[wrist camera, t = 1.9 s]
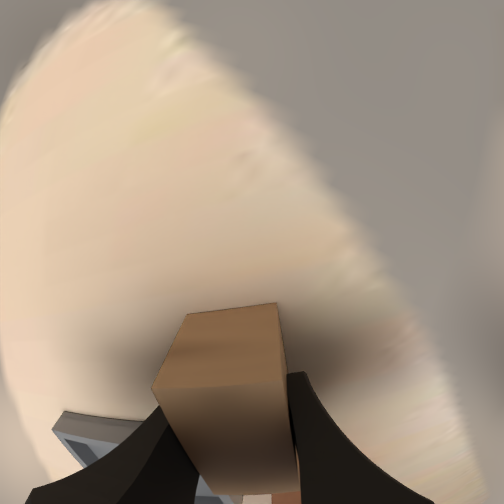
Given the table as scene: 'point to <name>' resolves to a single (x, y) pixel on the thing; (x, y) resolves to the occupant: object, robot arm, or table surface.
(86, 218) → the table surface
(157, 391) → the walnut brick
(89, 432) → the tray
